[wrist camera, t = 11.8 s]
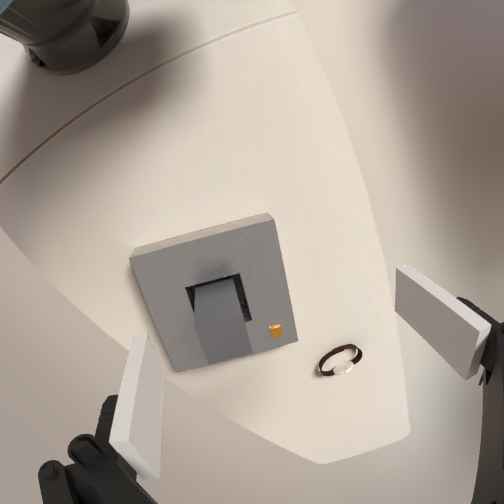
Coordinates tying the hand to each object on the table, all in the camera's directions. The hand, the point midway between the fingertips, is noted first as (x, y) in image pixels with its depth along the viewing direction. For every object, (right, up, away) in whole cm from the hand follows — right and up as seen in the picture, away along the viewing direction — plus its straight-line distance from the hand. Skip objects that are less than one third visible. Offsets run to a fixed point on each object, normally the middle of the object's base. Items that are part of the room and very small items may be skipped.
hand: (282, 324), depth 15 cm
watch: (+13, -14, +36) cm, 41 cm away
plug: (-6, -2, +28) cm, 28 cm away
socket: (-6, -2, +28) cm, 29 cm away
